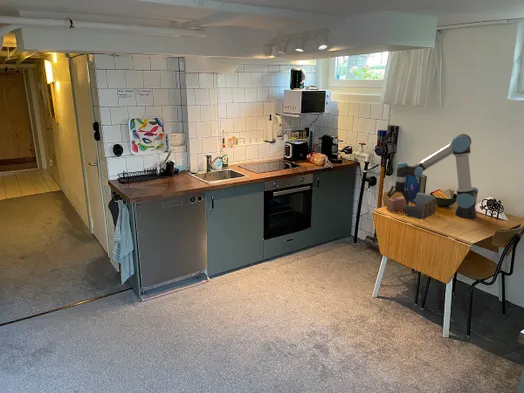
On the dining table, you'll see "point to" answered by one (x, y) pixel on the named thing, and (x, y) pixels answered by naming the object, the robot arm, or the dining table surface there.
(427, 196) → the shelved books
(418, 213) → the bookend
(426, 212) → the shelf wall
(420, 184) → the book
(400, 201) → the book box
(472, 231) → the dining table surface
